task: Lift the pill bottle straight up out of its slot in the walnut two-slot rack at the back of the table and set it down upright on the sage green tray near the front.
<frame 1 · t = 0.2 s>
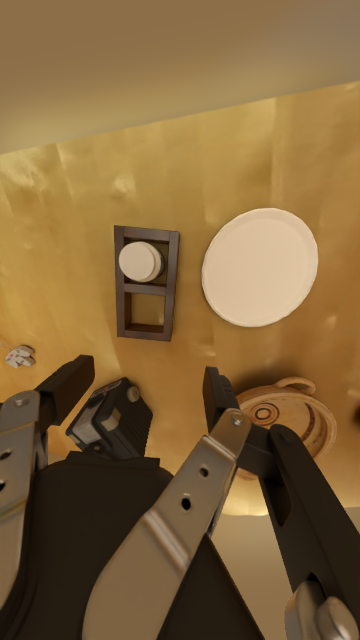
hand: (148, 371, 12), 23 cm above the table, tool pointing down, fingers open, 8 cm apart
rack: (149, 286, 33), on the table
pill bottle: (150, 263, 31), resting in rack
camera: (125, 400, 42), on the table
ceramic bowl: (257, 408, 42), on the table
game controller: (14, 344, 37), on the table
plate: (255, 273, 32), on the table
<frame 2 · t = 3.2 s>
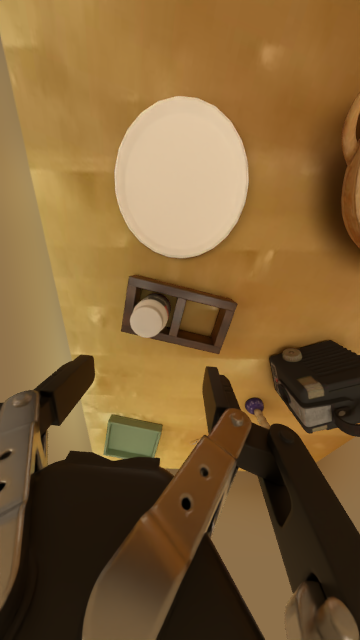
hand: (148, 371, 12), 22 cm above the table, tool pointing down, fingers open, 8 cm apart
rack: (178, 311, 33), on the table
toy lamp: (254, 403, 41), on the table
pill bottle: (156, 306, 33), resting in rack
camera: (298, 363, 37), on the table
tray: (133, 436, 45), on the table
plate: (181, 190, 27), on the table
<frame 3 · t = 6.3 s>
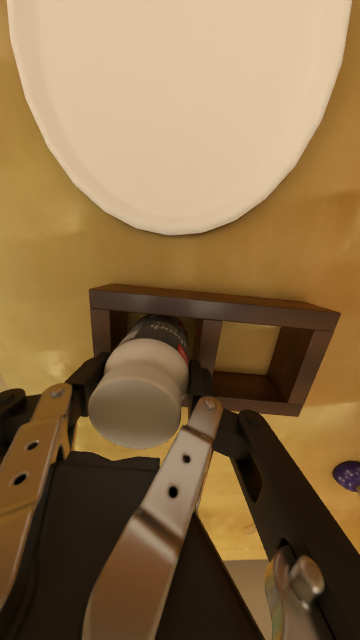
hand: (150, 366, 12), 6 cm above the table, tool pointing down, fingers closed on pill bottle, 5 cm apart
rack: (201, 340, 18), on the table
toy lamp: (349, 469, 24), on the table
pill bottle: (160, 335, 18), resting in rack, touching gripper
plate: (177, 72, 12), on the table
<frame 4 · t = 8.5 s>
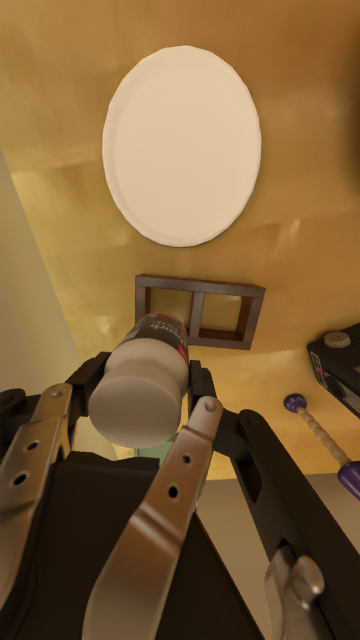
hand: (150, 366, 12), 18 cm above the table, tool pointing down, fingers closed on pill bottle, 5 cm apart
rack: (194, 308, 29), on the table
toy lamp: (295, 400, 36), on the table
pill bottle: (160, 335, 18), point 12 cm above the table, touching gripper
camera: (343, 348, 31), on the table
tray: (163, 450, 41), on the table
plate: (181, 166, 23), on the table
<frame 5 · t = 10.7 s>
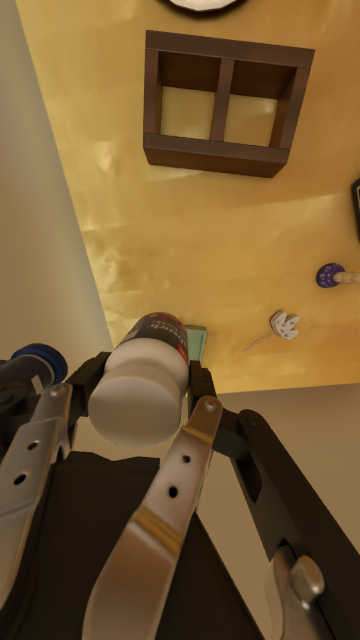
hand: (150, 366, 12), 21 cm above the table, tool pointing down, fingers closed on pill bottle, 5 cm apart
rack: (216, 127, 24), on the table
toy lamp: (329, 275, 30), on the table
pill bottle: (160, 335, 18), point 15 cm above the table, touching gripper
game controller: (266, 331, 34), on the table
tray: (170, 350, 36), on the table
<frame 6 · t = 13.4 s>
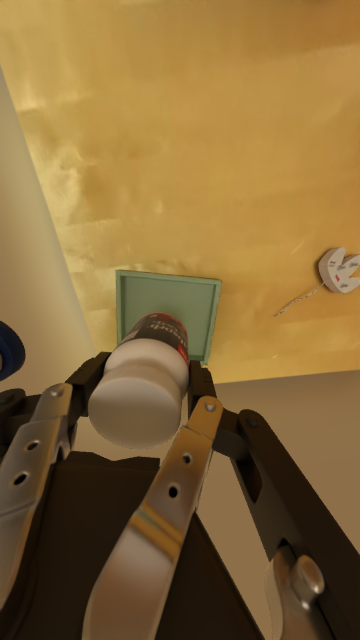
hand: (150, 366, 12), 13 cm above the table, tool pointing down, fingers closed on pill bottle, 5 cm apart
pill bottle: (160, 335, 18), point 7 cm above the table, touching gripper
game controller: (309, 285, 23), on the table
tray: (166, 317, 24), on the table
when the fingers open (6 cm above the table, at t = 15.5 s): pill bottle stays where it is, resting on tray.
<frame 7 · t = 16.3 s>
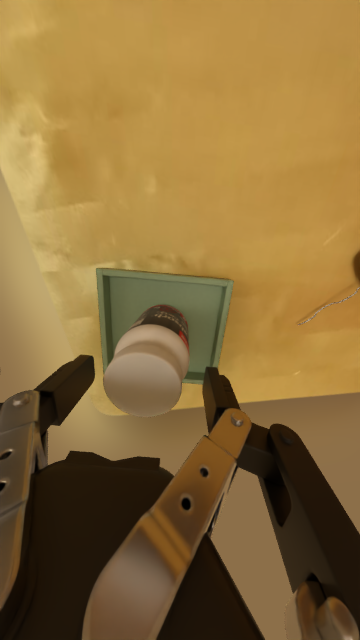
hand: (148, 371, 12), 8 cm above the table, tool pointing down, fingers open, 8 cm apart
pill bottle: (163, 326, 19), resting on tray
tray: (163, 326, 20), on the table
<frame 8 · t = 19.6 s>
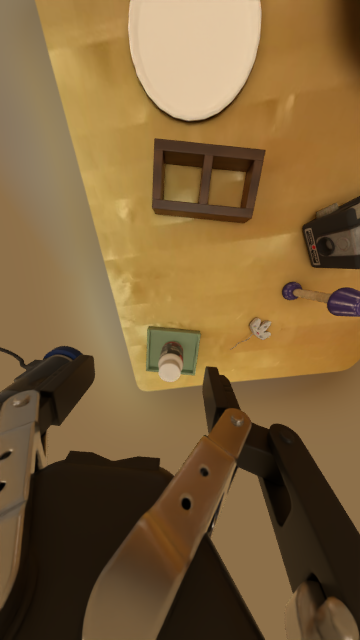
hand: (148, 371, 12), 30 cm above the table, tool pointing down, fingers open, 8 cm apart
rack: (203, 189, 34), on the table
toy lamp: (292, 290, 40), on the table
pill bottle: (172, 349, 45), resting on tray
camera: (333, 231, 36), on the table
game controller: (247, 333, 43), on the table
tray: (172, 349, 45), on the table
plate: (193, 42, 27), on the table
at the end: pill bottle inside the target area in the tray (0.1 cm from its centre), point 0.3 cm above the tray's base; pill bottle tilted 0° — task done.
